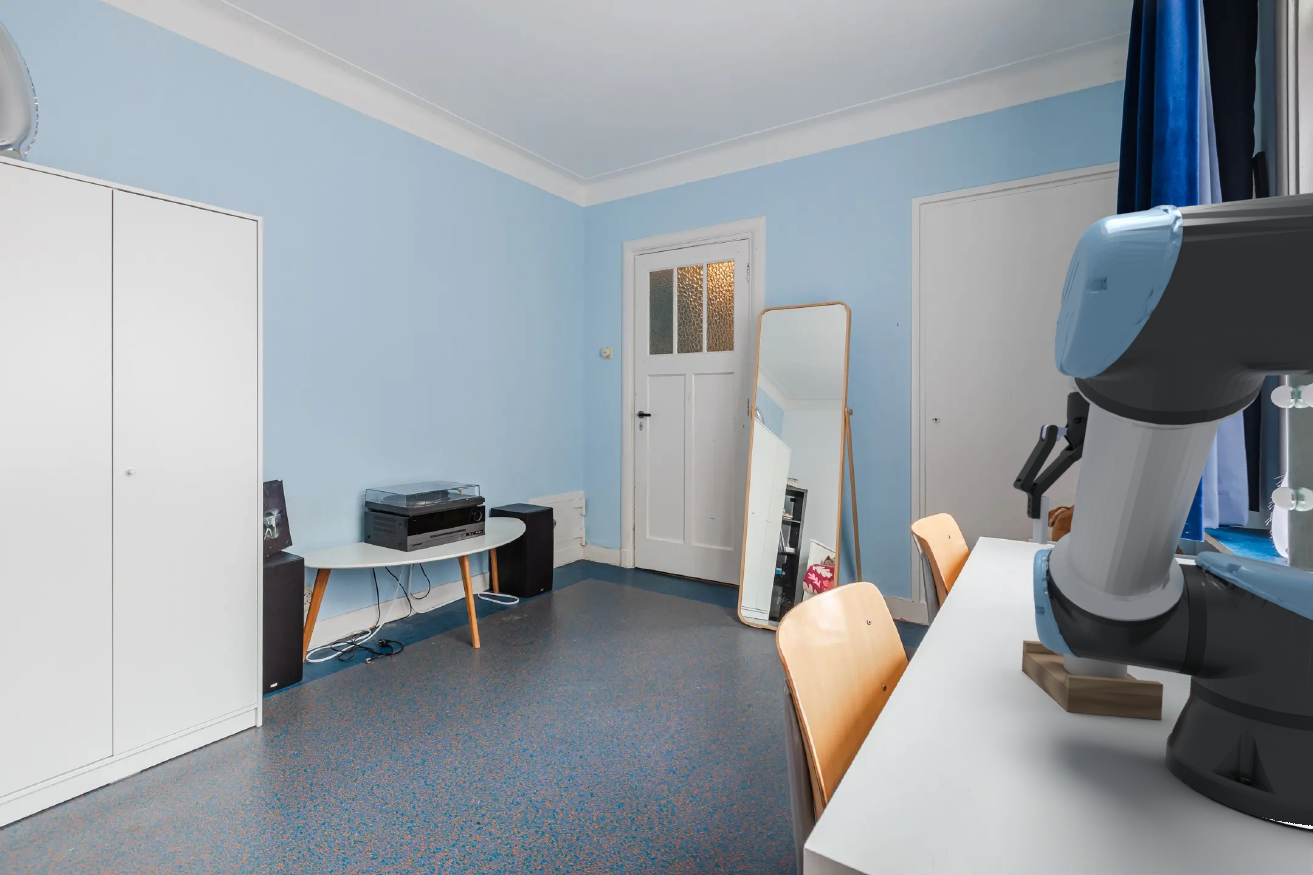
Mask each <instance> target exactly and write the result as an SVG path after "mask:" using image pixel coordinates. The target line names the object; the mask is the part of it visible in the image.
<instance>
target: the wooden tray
mask: <svg viewBox="0 0 1313 875" xmlns="http://www.w3.org/2000/svg"><path fill="white" fill-rule="evenodd" d="M1022 641H1023V642H1022V643H1023V644H1022V664H1021V671H1022V672H1023V673H1024V674H1025V675H1027V676H1028V677H1029V679H1031V680H1032V681H1033V682H1034V683H1035V684H1037V685H1038V686H1039V688H1041V689H1042V690H1043V691H1044V692H1045V693H1046V694H1048V696H1050V697H1051V698H1052V699H1053V700H1054V701H1056V703H1057V704H1059V706H1061V707H1062V708H1063V710H1065V711H1066V712H1068V713H1079V714H1093V715H1102V716H1115V717H1124V718H1137V719H1146V720H1147V719H1149V720H1159V721H1160V720H1162V712H1163V694H1164V684H1163V683H1162V682H1160V681H1157V680H1156V681H1154V680H1144V679H1137V678H1136V677H1134V676H1133V675H1131V674H1130V673H1128V672H1127V677H1126V679H1120V678H1108V677H1095V676H1082V675H1071V674H1070V673H1068V672H1067V671H1066V670H1065V668H1064V665H1063V662H1064V657H1062V656H1059V655H1058V654H1056V653H1054V652H1053V651H1052V650H1049V649H1047V648H1046V647H1045V646H1043V644H1042V643H1041V642H1040V641H1036V640H1035V641H1034V640H1022Z"/></svg>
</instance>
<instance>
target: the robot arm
mask: <svg viewBox="0 0 1313 875" xmlns="http://www.w3.org/2000/svg"><path fill="white" fill-rule="evenodd" d="M1057 317H1058V318H1057V322H1056V329H1055V330H1056V331H1055V339H1054V341H1055V342H1054V361H1055V367H1056V368H1057V371H1058V372H1059V373H1060V374H1061V375H1064V376H1067V377H1068V379H1067V380H1068V381H1067V384H1068V385H1067V387H1068V388H1069V389H1072V392H1069V393H1068V394H1067V396H1066V424H1065V426H1064V427H1062V426H1057V425H1056V424H1043V425H1042V426H1041V427H1040V433H1039V438H1038V440H1037V443H1036V445H1035V446H1034V448H1033V449H1032V452H1031V453H1030V455H1029V456H1028V458H1027V459H1026V461H1025V463H1024V464H1023V466H1022V467H1021V468H1022V469H1021V470H1019V473H1018V475H1017V477H1016V479H1015V480H1014V482H1013V483H1012V486H1013V488H1014V489H1016V490H1018V491H1021V492H1024V493H1025V494H1026V495H1027V503H1026V504H1027V505H1026V506H1027V507H1026V508H1027V510H1026V514H1027V518H1029V519H1032V520H1033V521H1032V522H1033V523H1032V542H1035V543H1037V544H1039V545H1043V546H1044V545H1048V529H1049V511H1050V510H1049V508H1050V507H1049V504H1050V496H1049V497H1048V496H1045V495H1043V494H1045V492H1047V491H1048V490H1049V489H1050V488H1051V486H1053V485H1054V483H1056V482H1057V481H1058V480H1059V478H1061V477H1062V476H1063V475H1064V474H1065V473H1066V472H1067V470H1069V469H1070V468H1071V466H1073V465H1074V463H1076V462H1078V461H1079V460H1081V461H1080V466H1079V467H1080V468H1079V474H1078V478H1077V479H1078V480H1077V487H1076V493H1075V498H1074V499H1075V500H1074V506H1073V514H1072V518H1071V526H1070V532H1068V533H1066V534H1064V535H1063V536H1062V537H1061V538H1059V539H1058V540H1057V542H1056V543H1055V544H1054V546H1053V547H1049V548H1047V549H1046V548H1042V549H1039V550H1037V551H1036V552H1035V553H1034V557H1033V565H1032V566H1033V568H1032V569H1033V572H1032V574H1033V576H1032V580H1033V581H1032V582H1033V583H1032V586H1033V602H1034V610H1035V611H1034V616H1035V618H1034V619H1035V627H1036V628H1035V629H1036V633H1037V637H1038V640H1039V642H1041V643H1042V644H1043V646H1045V647H1046V648H1047V649H1049V650H1052V651H1055V652H1060V653H1064V654H1069V655H1071V656H1073V657H1076V658H1088V659H1094V660H1100V661H1106V662H1113V663H1119V664H1125V665H1127V666H1132V667H1138V668H1143V669H1150V670H1156V671H1163V672H1169V673H1173V674H1174V673H1175V674H1181V675H1185V676H1190V686H1189V694H1188V698H1187V700H1186V702H1185V703H1184V706H1183V708H1182V709H1181V712H1180V714H1179V715H1178V717H1177V719H1176V721H1175V724H1174V726H1173V728H1172V730H1171V732H1170V733H1169V735H1168V736H1167V739H1166V743H1165V744H1166V746H1165V764H1166V765H1167V767H1168V769H1169V770H1170V771H1171V773H1173V775H1175V777H1177V778H1178V779H1179V780H1181V781H1182V782H1183V783H1185V784H1186V785H1188V786H1189V787H1191V788H1192V789H1194V790H1195V791H1197V792H1199V793H1201V794H1203V795H1205V796H1206V797H1208V798H1211V799H1212V800H1215V801H1217V802H1220V803H1222V804H1223V805H1226V806H1228V807H1231V808H1233V809H1236V810H1238V811H1241V812H1242V813H1245V814H1248V815H1251V814H1252V815H1251V816H1255V817H1257V816H1258V818H1260V817H1264V818H1267V819H1273V820H1275V821H1282V822H1288V823H1289V822H1290V823H1293V824H1294V823H1295V824H1302V825H1308V826H1309V825H1311V826H1313V572H1311V571H1307V570H1303V569H1299V568H1298V567H1297V568H1296V567H1292V566H1289V565H1285V564H1281V563H1277V562H1272V561H1267V560H1263V559H1257V558H1253V557H1249V556H1244V555H1243V556H1242V555H1238V554H1231V553H1226V552H1216V551H1210V550H1209V551H1208V550H1207V551H1206V550H1205V551H1200V552H1199V553H1198V554H1197V556H1196V557H1195V558H1194V564H1187V563H1179V562H1178V561H1177V559H1176V557H1175V554H1176V551H1177V548H1178V545H1179V542H1180V539H1181V537H1182V533H1183V530H1184V528H1185V524H1186V522H1187V519H1188V516H1189V513H1190V511H1191V507H1192V505H1193V502H1194V498H1195V496H1196V493H1197V490H1198V487H1199V484H1200V482H1201V478H1202V477H1203V473H1204V469H1205V467H1206V464H1207V461H1208V458H1209V455H1210V452H1211V449H1212V446H1213V443H1214V440H1215V438H1216V435H1217V432H1218V429H1219V426H1220V423H1221V422H1222V421H1225V420H1227V419H1230V418H1233V417H1235V416H1236V415H1238V414H1240V413H1241V412H1243V411H1244V410H1246V409H1247V408H1248V407H1249V406H1250V405H1251V404H1253V402H1255V400H1256V399H1257V397H1258V396H1259V394H1260V392H1261V389H1262V386H1263V384H1264V381H1265V379H1266V376H1299V375H1300V376H1301V375H1302V376H1306V375H1308V376H1310V375H1311V376H1313V192H1308V193H1298V194H1289V195H1279V196H1271V197H1269V196H1268V197H1261V198H1251V199H1242V200H1241V199H1240V200H1234V201H1225V202H1224V201H1223V202H1217V203H1216V202H1215V203H1205V204H1197V205H1188V206H1180V207H1177V206H1176V205H1172V204H1167V205H1165V204H1162V205H1156V206H1154V207H1152V208H1150V209H1148V210H1141V211H1140V210H1139V211H1134V212H1129V213H1128V212H1127V213H1121V214H1113V215H1109V216H1105V217H1103V218H1101V219H1099V220H1097V221H1095V222H1094V223H1092V224H1091V225H1090V226H1088V228H1087V229H1086V230H1085V232H1083V233H1082V235H1081V236H1080V238H1079V240H1078V242H1077V244H1076V246H1075V249H1074V250H1073V253H1072V256H1071V259H1070V262H1069V265H1068V269H1067V272H1066V276H1065V280H1064V284H1063V288H1062V293H1061V300H1060V309H1059V313H1058V316H1057ZM1062 437H1064V440H1066V442H1067V443H1068V444H1067V445H1066V446H1065V447H1064V448H1063V449H1062V450H1061V451H1060V452H1059V455H1058V456H1057V457H1056V458H1055V459H1054V460H1053V461H1052V462H1051V463H1050V464H1049V465H1048V466H1047V467H1046V468H1045V469H1043V471H1042V472H1041V473H1040V474H1039V472H1040V471H1041V469H1042V468H1043V467H1044V464H1045V463H1046V461H1047V460H1048V457H1049V456H1050V454H1051V453H1052V451H1053V449H1054V447H1055V445H1056V443H1057V442H1059V441H1060V440H1061V438H1062ZM1267 819H1266V820H1267Z"/></svg>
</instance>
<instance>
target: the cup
mask: <svg viewBox="0 0 1313 875" xmlns="http://www.w3.org/2000/svg"><path fill="white" fill-rule="evenodd" d="M1053 652H1054V653H1056V654H1058V655H1059V656H1062V657H1064V662H1063V665H1064V668H1065V670H1066V671H1067V672H1068V673H1070V674H1071V675H1082V676H1095V677H1108V678H1120V679H1126V677H1127V673H1128V665H1125V664H1119V663H1113V662H1106V661H1100V660H1094V659H1088V658H1076V657H1073V656H1071V655H1069V654H1064V653H1060V652H1055V651H1053Z"/></svg>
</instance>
